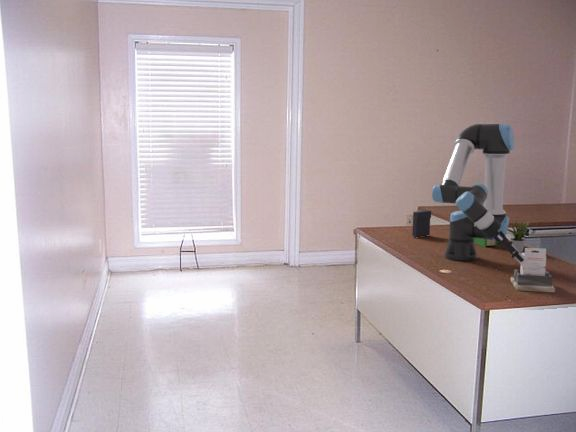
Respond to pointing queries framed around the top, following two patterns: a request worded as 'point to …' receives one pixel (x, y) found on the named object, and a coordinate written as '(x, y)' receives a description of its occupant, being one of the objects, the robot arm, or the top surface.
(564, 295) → the top surface
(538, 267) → the ink cartridge box
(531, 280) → the sleeve stand
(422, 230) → the dark navy upright block
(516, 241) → the house plant
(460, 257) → the robot arm
